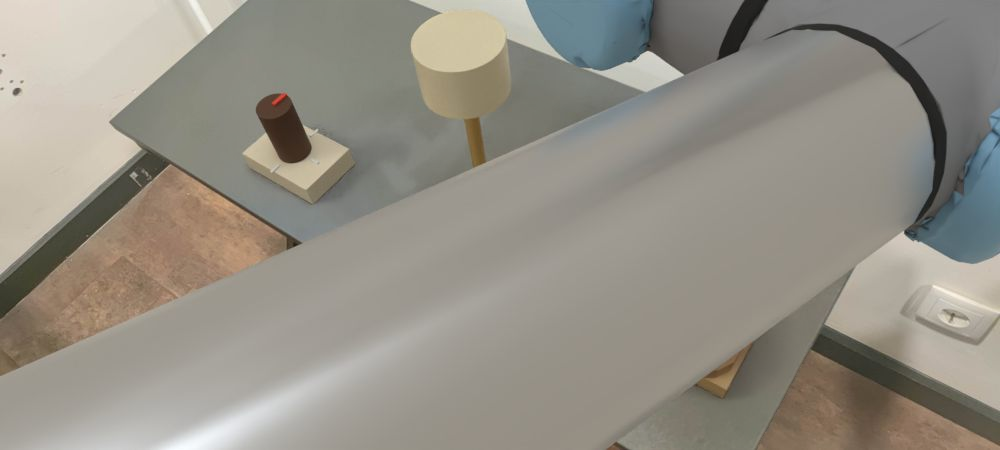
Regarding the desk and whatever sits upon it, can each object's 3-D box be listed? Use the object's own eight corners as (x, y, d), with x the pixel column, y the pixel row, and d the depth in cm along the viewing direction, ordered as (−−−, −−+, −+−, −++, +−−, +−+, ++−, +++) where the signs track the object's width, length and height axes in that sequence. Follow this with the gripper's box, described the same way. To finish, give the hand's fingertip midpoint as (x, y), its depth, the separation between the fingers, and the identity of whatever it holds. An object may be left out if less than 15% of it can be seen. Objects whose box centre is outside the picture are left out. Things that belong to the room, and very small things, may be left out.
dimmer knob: (294, 168, 89) (271, 121, 82) (271, 155, 90) (246, 108, 84) (318, 146, 91) (298, 99, 84) (295, 133, 92) (273, 86, 86)
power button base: (721, 402, 69) (727, 386, 66) (648, 362, 72) (651, 344, 69) (764, 323, 74) (772, 304, 70) (693, 288, 77) (698, 268, 74)
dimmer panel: (311, 206, 89) (303, 190, 86) (248, 169, 94) (239, 153, 91) (356, 162, 93) (350, 146, 90) (294, 129, 97) (286, 113, 95)
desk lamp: (495, 251, 82) (467, 84, 61) (436, 219, 86) (390, 51, 65) (538, 199, 86) (525, 27, 65) (479, 171, 90) (449, -1, 69)
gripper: (798, -88, 49) (741, 126, 66) (588, 123, 38) (585, 313, 55) (908, -56, 45) (818, 161, 62) (711, 184, 35) (667, 366, 52)
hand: (708, 233), depth 59 cm, fingers open, 13 cm apart
